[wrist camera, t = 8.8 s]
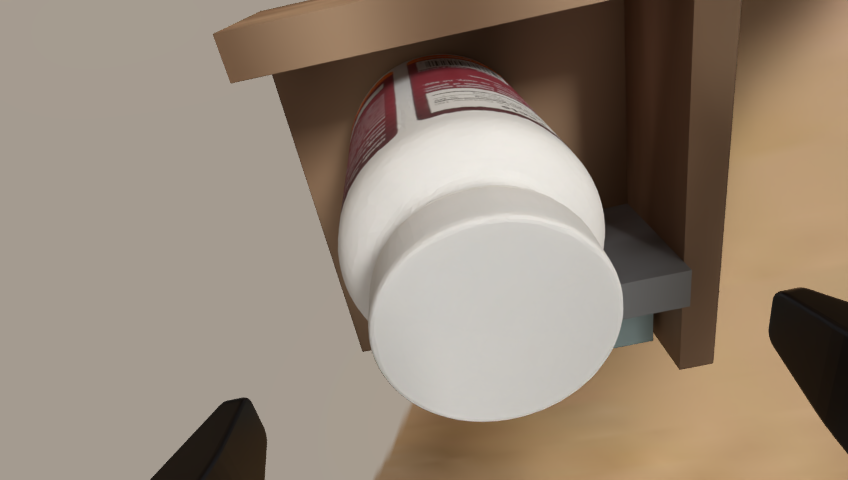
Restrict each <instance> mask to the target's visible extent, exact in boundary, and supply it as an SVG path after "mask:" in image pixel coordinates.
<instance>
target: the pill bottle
mask: <svg viewBox="0 0 848 480" xmlns="http://www.w3.org/2000/svg"><path fill="white" fill-rule="evenodd" d="M604 240H605V222H604V213H603V208H602V203H601V200H600V197H599V194H598V191H597V189H596V186H595V184H594V182H593V180H592V178H591V176H590V175H589V173H588V171H587V170H586V168H585V167H584V165H583V164H582V163H581V161H580V160H579V159H578V158H577V157H576V155H575V154H574V153H573V152H572V151H571V150H570V148H569V147H568V146H567V145H566V144H565V143H564V142H563V141H562V140H561V139H560V138H559V137H558V136H557V135H556V133H555V132H553V131H552V129H551V128H550V127H549V126H548V125H547V124H546V123H545V122H544V121H543V120H542V119H541V118H540V117H539V116H538V115H537V113H536V112H535V111H534V110H533V109H532V108H531V107H530V106H529V105H528V104H527V103H526V102H525V101H524V99H523V98H522V97H521V96H520V95H519V94H518V93H517V92H516V91H515V90H514V89H513V88H512V87H511V86H510V85H509V83H508V82H507V81H506V80H505V79H503V78H502V77H501V76H500V75H499V74H498V73H496V72H495V71H494V70H492V69H490V68H489V67H487V66H485V65H483V64H481V63H480V62H478V61H475V60H473V59H470V58H467V57H463V56H458V55H451V54H432V55H425V56H421V57H417V58H414V59H411V60H408V61H406V62H404V63H402V64H400V65H398V66H396V67H394V68H393V69H391V70H390V71H388V72H387V73H386V74H385V75H383V76H382V77H381V78H380V79H379V80H378V81H377V82H376V83H375V84H374V85H373V87H372V88H371V89H370V91H369V92H368V93H367V95H366V96H365V98H364V99H363V101H362V103H361V105H360V107H359V109H358V112H357V114H356V117H355V120H354V123H353V127H352V132H351V138H350V148H349V156H348V164H347V171H346V179H345V186H344V193H343V200H342V207H341V214H340V220H339V233H338V256H339V263H340V268H341V272H342V276H343V280H344V282H345V285H346V288H347V290H348V292H349V295H350V296H351V298H352V300H353V302H354V303H355V305H356V306H357V308H358V309H359V311H360V312H361V313H362V314H363V316H364V317H365V318H366V319H367V320H368V332H369V341H370V346H371V350H372V353H373V356H374V359H375V361H376V363H377V365H378V367H379V369H380V371H381V372H382V374H383V376H384V377H385V378H386V379H387V380H388V382H389V383H390V384H391V385H392V386H393V388H395V389H396V391H398V392H399V393H400V394H401V395H402V396H403V397H405V398H406V399H407V400H409V401H410V402H412V403H414V404H416V405H417V406H419V407H421V408H423V409H425V410H427V411H429V412H432V413H434V414H437V415H441V416H444V417H447V418H452V419H456V420H463V421H475V422H489V421H502V420H508V419H514V418H518V417H523V416H527V415H530V414H532V413H535V412H538V411H541V410H544V409H546V408H548V407H550V406H552V405H554V404H556V403H558V402H560V401H562V400H563V399H565V398H566V397H568V396H569V395H571V394H572V393H574V392H575V391H577V390H578V389H579V388H580V387H581V386H583V385H584V384H585V383H586V382H587V381H589V380H590V379H591V378H592V377H593V376H594V375H595V374H596V372H597V371H598V370H599V368H600V367H601V366H602V364H603V363H604V362H605V360H606V359H607V358H608V356H609V354H610V353H611V351H612V349H613V347H614V345H615V343H616V340H617V338H618V335H619V332H620V328H621V324H622V320H623V294H622V288H621V284H620V281H619V278H618V275H617V272H616V270H615V268H614V266H613V265H612V263H611V261H610V259H609V257H608V256H607V254H606V253H605V252H604V250H603V248H604Z"/></svg>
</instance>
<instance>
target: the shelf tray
mask: <svg viewBox="0 0 848 480" xmlns="http://www.w3.org/2000/svg"><path fill="white" fill-rule="evenodd" d="M741 4H742V0H308V1H304V2H299V3H295V4H290V5H286V6H282V7H277V8H273V9H269V10H264V11H260V12H258V13H256V14H254V15H252V16H249V17H247V18H245V19H243V20H241V21H239V22H237V23H235V24H233V25H231V26H229V27H227V28H225V29H223V30H220V31H218V32H216V33H214V34H213V36H214V39H215V41H216V44H217V47H218V50H219V53H220V55H221V58H222V61H223V64H224V66H225V69H226V71H227V74H228V77H229V80H230V83H235V82H239V81H244V80H249V79H253V78H258V77H262V76H266V75H271V74H272V76H273V79H274V82H275V85H276V88H277V91H278V94H279V97H280V100H281V103H282V106H283V110H284V113H285V116H286V118H287V122H288V125H289V128H290V131H291V134H292V137H293V140H294V143H295V146H296V149H297V152H298V155H299V158H300V162H301V164H302V168H303V171H304V174H305V177H306V180H307V183H308V186H309V189H310V192H311V195H312V198H313V201H314V204H315V207H316V210H317V214H318V216H319V220H320V223H321V226H322V229H323V232H324V235H325V238H326V241H327V244H328V247H329V250H330V253H331V256H332V259H333V262H334V265H335V269H336V272H337V274H338V278H339V281H340V284H341V287H342V290H343V293H344V296H345V299H346V302H347V305H348V308H349V311H350V314H351V317H352V320H353V324H354V326H355V330H356V333H357V336H358V339H359V342H360V345H361V348H362V351H363V352H364V351H369V350H371V346H370V341H369V332H368V320H367V319H366V318H365V317H364V316H363V314H362V313H361V312H360V311H359V309H358V308H357V306H356V305H355V303H354V302H353V300H352V298H351V296H350V295H349V292H348V290H347V288H346V285H345V282H344V280H343V276H342V272H341V268H340V263H339V256H338V233H339V220H340V214H341V207H342V200H343V193H344V186H345V179H346V171H347V164H348V156H349V148H350V138H351V132H352V127H353V123H354V120H355V117H356V114H357V112H358V109H359V107H360V105H361V103H362V101H363V99H364V98H365V96H366V95H367V93H368V92H369V91H370V89H371V88H372V87H373V85H374V84H375V83H376V82H377V81H378V80H379V79H380V78H381V77H382V76H383V75H385V74H386V73H387V72H388V71H390V70H391V69H393V68H394V67H396V66H398V65H400V64H402V63H404V62H406V61H408V60H411V59H414V58H417V57H421V56H425V55H432V54H451V55H458V56H463V57H467V58H470V59H473V60H475V61H478V62H480V63H481V64H483V65H485V66H487V67H489V68H490V69H492V70H494V71H495V72H496V73H498V74H499V75H500V76H501V77H502V78H503V79H505V80H506V81H507V82H508V83H509V85H510V86H511V87H512V88H513V89H514V90H515V91H516V92H517V93H518V94H519V95H520V96H521V97H522V98H523V99H524V101H525V102H526V103H527V104H528V105H529V106H530V107H531V108H532V109H533V110H534V111H535V112H536V113H537V115H538V116H539V117H540V118H541V119H542V120H543V121H544V122H545V123H546V124H547V125H548V126H549V127H550V128H551V129H552V131H553V132H555V133H556V135H557V136H558V137H559V138H560V139H561V140H562V141H563V142H564V143H565V144H566V145H567V146H568V147H569V148H570V150H571V151H572V152H573V153H574V154H575V155H576V157H577V158H578V159H579V160H580V161H581V163H582V164H583V165H584V167H585V168H586V170H587V171H588V173H589V175H590V176H591V178H592V180H593V182H594V184H595V186H596V189H597V191H598V194H599V197H600V200H601V203H602V208H603V213H604V222H605V240H604V248H603V250H604V252H605V253H606V254H607V256H608V257H609V259H610V261H611V263H612V265H613V266H614V268H615V270H616V272H617V275H618V278H619V281H620V284H621V288H622V294H623V320H622V324H621V328H620V332H619V335H618V338H617V340H616V343H615V345H614V347H613V348H617V347H623V346H628V345H633V344H638V343H643V342H648V341H653V333H654V334H655V336H656V337H657V338H658V340H659V341H660V343H661V344H662V345H663V347H664V348H665V350H666V351H667V353H668V354H669V355H670V357H671V358H672V360H673V361H674V362H675V364H676V365H677V367H678V368H679V370H681V369H686V368H692V367H697V366H702V365H707V364H712V363H713V359H714V346H715V334H716V321H717V308H718V296H719V283H720V270H721V258H722V245H723V232H724V220H725V207H726V194H727V182H728V169H729V156H730V144H731V131H732V118H733V106H734V93H735V80H736V68H737V55H738V42H739V30H740V17H741Z"/></svg>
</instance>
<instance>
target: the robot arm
mask: <svg viewBox="0 0 848 480" xmlns="http://www.w3.org/2000/svg"><path fill="white" fill-rule="evenodd" d="M769 337H770V340H771V343H772V345H773V347H774V348H775V350H776V351H777V353H778V354H779V356H780V357H781V359H782V360H783V362H784V364H785V365H786V367H787V368H788V370H789V371H790V373H791V374H792V376H793V377H794V379H795V381H796V382H797V384H798V385H799V387H800V388H801V390H802V391H803V393H804V394H805V396H806V398H807V399H808V401H809V402H810V404H811V405H812V407H813V408H814V410H815V411H816V413H817V414H818V416H819V417H820V419H821V420H822V421H823V423H824V424H825V426H826V427H827V428H828V430H829V431H830V432H831V433H832V435H833V436H834V437H835V439H836V440H837V441H838V442H839V444H840V445H841V446H842V447H843V449H844V450H845V451H846V452H847V454H848V302H846V301H843V300H840V299H837V298H834V297H831V296H828V295H825V294H822V293H819V292H816V291H813V290H810V289H807V288H802V287H801V288H794V289H789V290H784V291H780V292H778V293H776V294H775V296H774V297H773V302H772V309H771V316H770V324H769ZM266 448H267V437H266V433H265V429H264V427H263V425H262V423H261V421H260V419H259V416H258V414H257V413H256V410H255V408H254V406H253V404H252V402H251V401H250V400H249V399H248V398H239V399H234V400H229V401H225V402H223V403H222V404H221V405H220V406H219V407H218V408H217V409H216V410H215V411H214V412H213V413H212V415H210V416H209V418H208V419H207V420H206V421H205V422H204V423H203V424H202V425H201V426H200V427H199V428H198V429H197V430H196V431H195V432H194V434H193V435H192V436H191V437H190V438H189V439H188V440H187V441H186V442H185V443H184V444H183V445H182V446H181V447H180V448H179V450H178V451H177V452H176V453H175V454H174V455H173V456H172V457H171V458H170V459H169V460H168V461H167V462H166V464H164V466H163V467H162V468H161V469H160V470H159V471H158V472H157V473H156V474H155V475H154V476H153V477H152V478H151V480H264V479H265V464H266V450H267V449H266Z"/></svg>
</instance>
